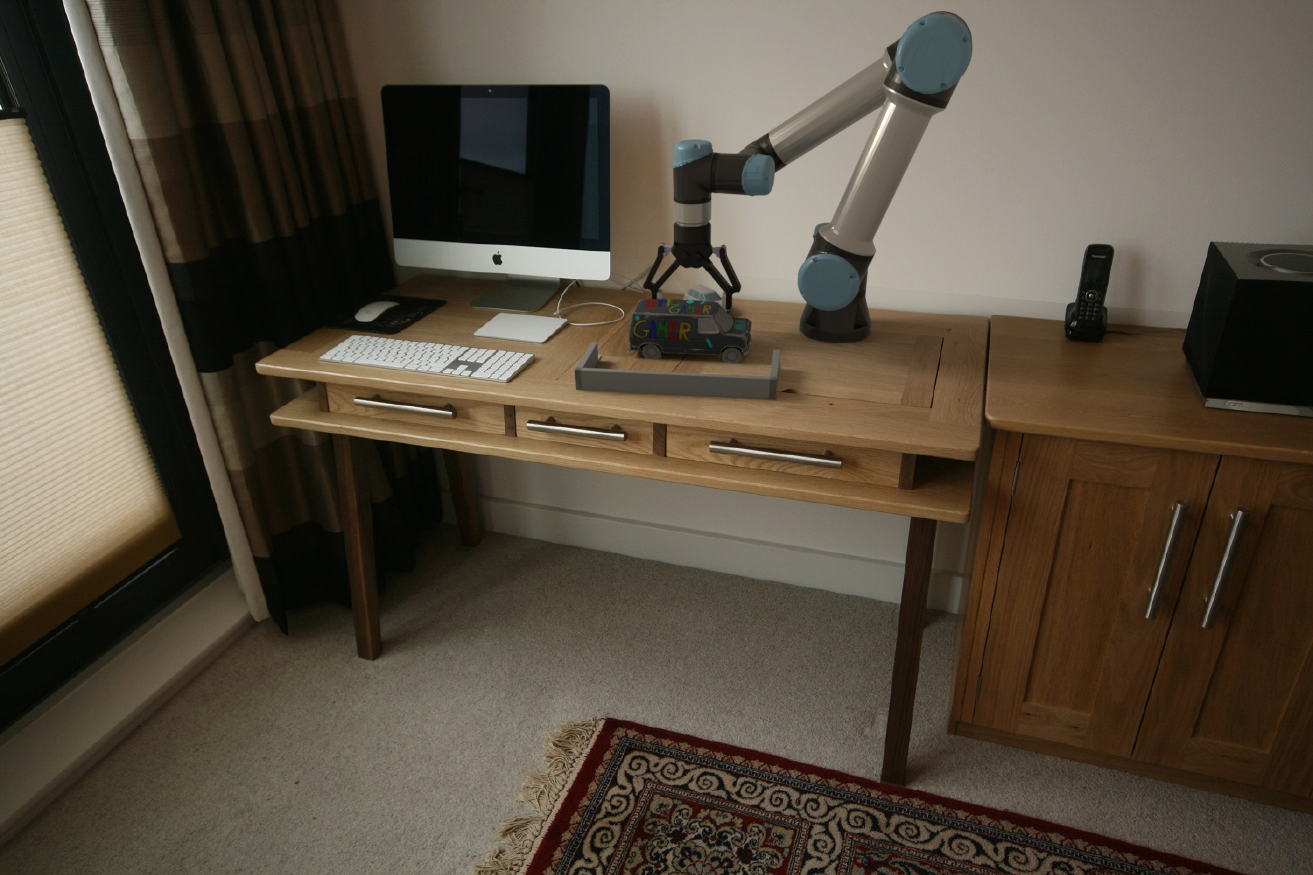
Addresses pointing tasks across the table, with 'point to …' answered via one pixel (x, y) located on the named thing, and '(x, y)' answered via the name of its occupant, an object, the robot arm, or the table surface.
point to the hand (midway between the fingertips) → (691, 322)
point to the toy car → (702, 294)
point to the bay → (673, 380)
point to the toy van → (687, 329)
